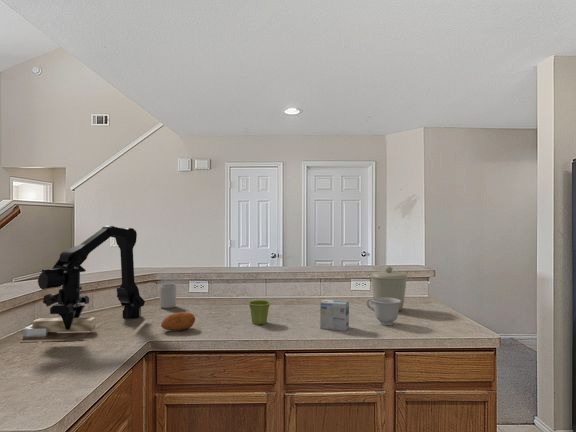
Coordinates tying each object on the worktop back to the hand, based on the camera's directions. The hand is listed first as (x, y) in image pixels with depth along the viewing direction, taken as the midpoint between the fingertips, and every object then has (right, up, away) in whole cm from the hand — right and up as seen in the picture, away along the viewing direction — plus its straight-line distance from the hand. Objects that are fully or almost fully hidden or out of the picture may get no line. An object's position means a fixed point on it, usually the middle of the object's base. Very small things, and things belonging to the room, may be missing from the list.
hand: (70, 327), depth 142 cm
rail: (-2, -1, 0) cm, 2 cm away
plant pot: (+68, -4, +22) cm, 71 cm away
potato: (+37, -4, +10) cm, 38 cm away
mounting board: (-5, -4, +5) cm, 8 cm away
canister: (+129, -5, +48) cm, 138 cm away
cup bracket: (-10, -2, -1) cm, 11 cm away
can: (+20, -5, +50) cm, 54 cm away
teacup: (+120, -5, +22) cm, 122 cm away
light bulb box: (+98, -5, +15) cm, 100 cm away
